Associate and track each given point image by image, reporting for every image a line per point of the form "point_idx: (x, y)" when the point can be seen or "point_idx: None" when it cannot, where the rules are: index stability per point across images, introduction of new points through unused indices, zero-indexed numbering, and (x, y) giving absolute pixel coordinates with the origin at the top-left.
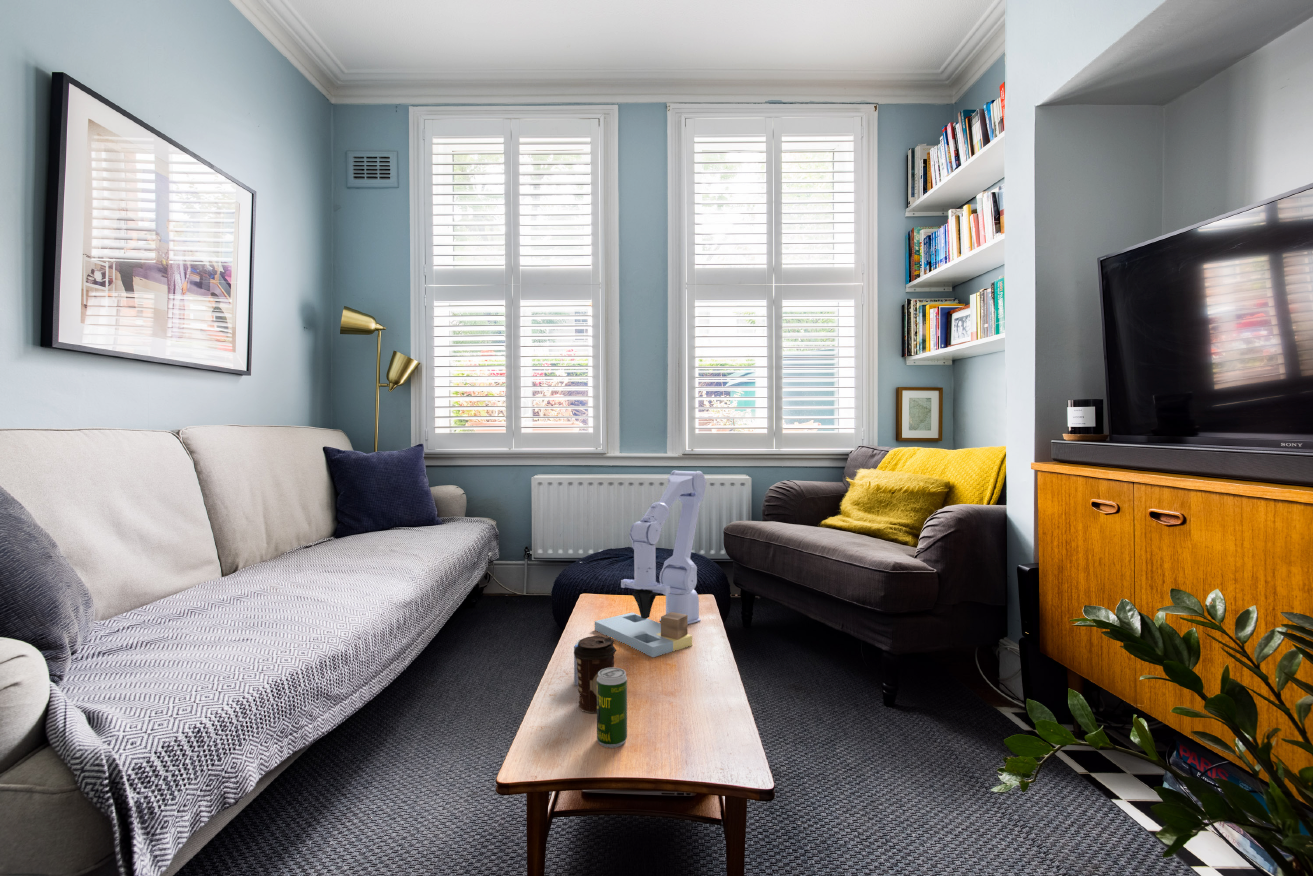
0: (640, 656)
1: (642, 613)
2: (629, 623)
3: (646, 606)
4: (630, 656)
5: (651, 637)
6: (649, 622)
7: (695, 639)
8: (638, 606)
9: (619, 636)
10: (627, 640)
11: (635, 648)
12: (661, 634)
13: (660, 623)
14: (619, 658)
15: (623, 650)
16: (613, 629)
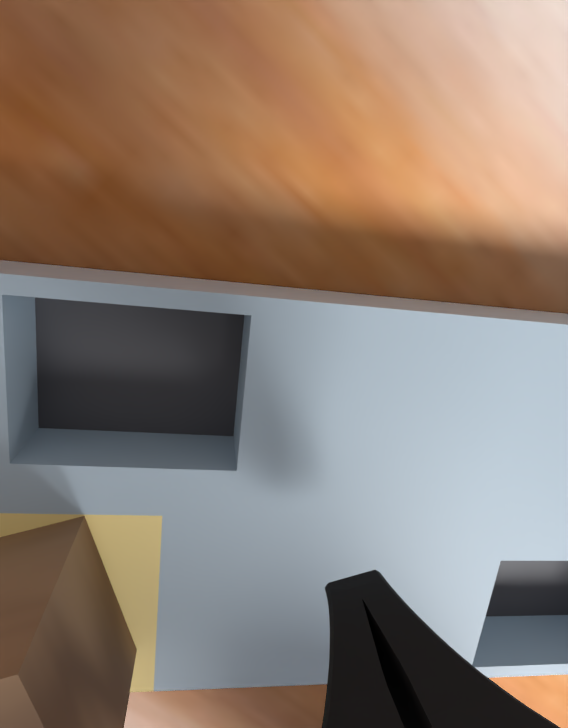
0: (16, 191)
1: (368, 610)
2: (520, 517)
3: (326, 720)
4: (76, 124)
5: (161, 460)
6: None
7: None
8: (453, 655)
9: (420, 305)
10: (303, 295)
11: (182, 278)
12: (73, 527)
13: None
14: (102, 6)
15: (235, 185)
16: (531, 323)
